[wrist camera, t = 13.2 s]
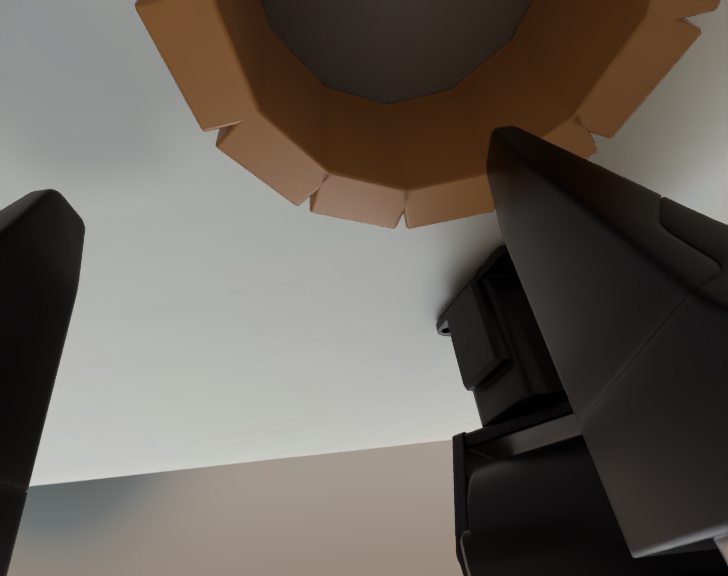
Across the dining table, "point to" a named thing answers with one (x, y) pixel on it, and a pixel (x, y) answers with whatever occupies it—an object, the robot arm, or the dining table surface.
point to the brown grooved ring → (414, 102)
